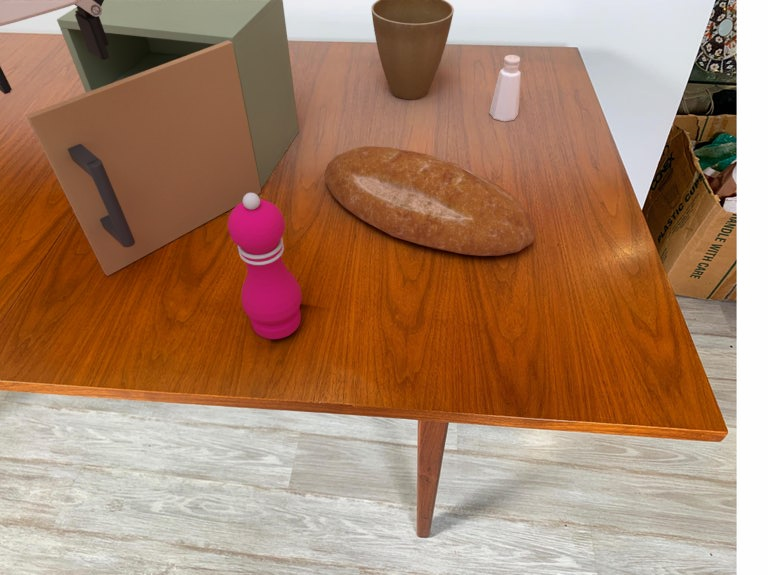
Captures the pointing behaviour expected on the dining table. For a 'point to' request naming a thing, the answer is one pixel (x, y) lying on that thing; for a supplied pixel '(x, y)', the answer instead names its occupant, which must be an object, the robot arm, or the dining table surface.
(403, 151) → the bread
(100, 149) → the cupboard door
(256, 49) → the cupboard
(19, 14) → the robot arm
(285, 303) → the pepper mill
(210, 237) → the dining table surface
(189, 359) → the dining table surface
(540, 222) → the dining table surface
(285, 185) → the dining table surface
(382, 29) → the plant pot
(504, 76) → the salt shaker
